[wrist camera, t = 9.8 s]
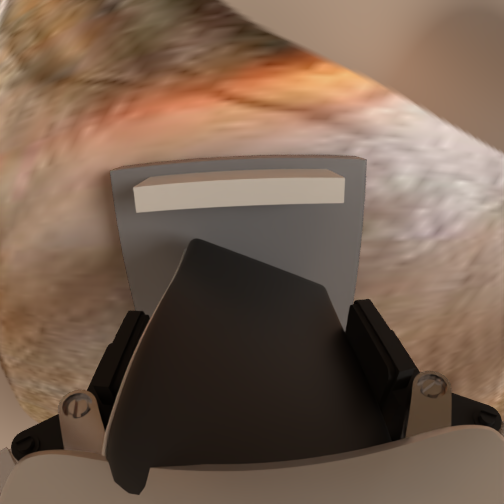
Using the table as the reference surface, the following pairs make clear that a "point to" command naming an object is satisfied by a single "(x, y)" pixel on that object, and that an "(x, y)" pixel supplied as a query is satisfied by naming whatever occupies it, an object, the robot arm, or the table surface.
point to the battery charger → (239, 374)
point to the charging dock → (243, 218)
